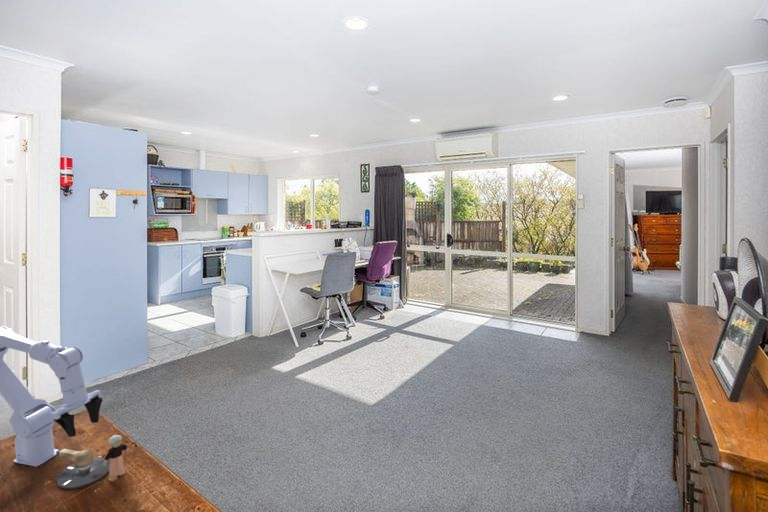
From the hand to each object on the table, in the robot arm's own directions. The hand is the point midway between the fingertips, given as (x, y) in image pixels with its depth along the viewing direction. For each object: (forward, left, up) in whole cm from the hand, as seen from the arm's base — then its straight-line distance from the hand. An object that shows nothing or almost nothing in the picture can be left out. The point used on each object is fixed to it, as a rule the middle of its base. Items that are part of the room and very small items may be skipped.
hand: (84, 428), depth 126 cm
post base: (+5, -5, -11) cm, 13 cm away
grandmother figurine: (+15, -3, -11) cm, 19 cm away
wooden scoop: (+2, -5, -7) cm, 9 cm away
